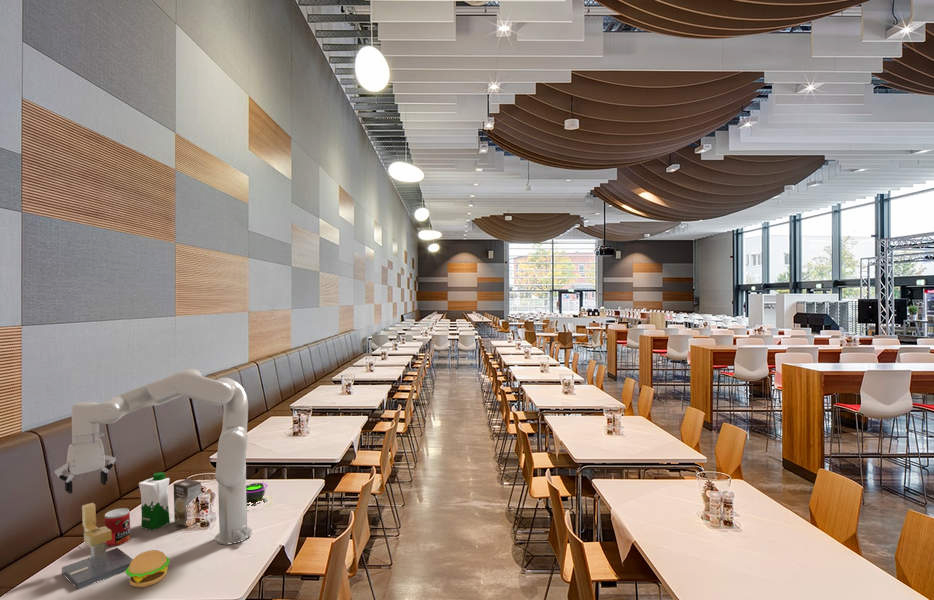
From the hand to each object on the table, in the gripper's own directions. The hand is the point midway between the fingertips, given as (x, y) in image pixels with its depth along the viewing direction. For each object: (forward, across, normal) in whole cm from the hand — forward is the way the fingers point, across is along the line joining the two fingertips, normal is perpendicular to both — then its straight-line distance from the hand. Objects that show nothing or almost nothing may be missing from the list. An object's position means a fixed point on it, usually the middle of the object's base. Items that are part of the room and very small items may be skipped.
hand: (86, 488), depth 175 cm
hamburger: (+26, -8, +28) cm, 39 cm away
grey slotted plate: (+26, -1, +8) cm, 27 cm away
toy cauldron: (+26, -61, 0) cm, 66 cm away
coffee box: (+26, -35, -5) cm, 44 cm away
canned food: (+26, -12, -10) cm, 30 cm away
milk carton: (+26, -26, -13) cm, 39 cm away
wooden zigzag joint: (+16, 0, +5) cm, 17 cm away
